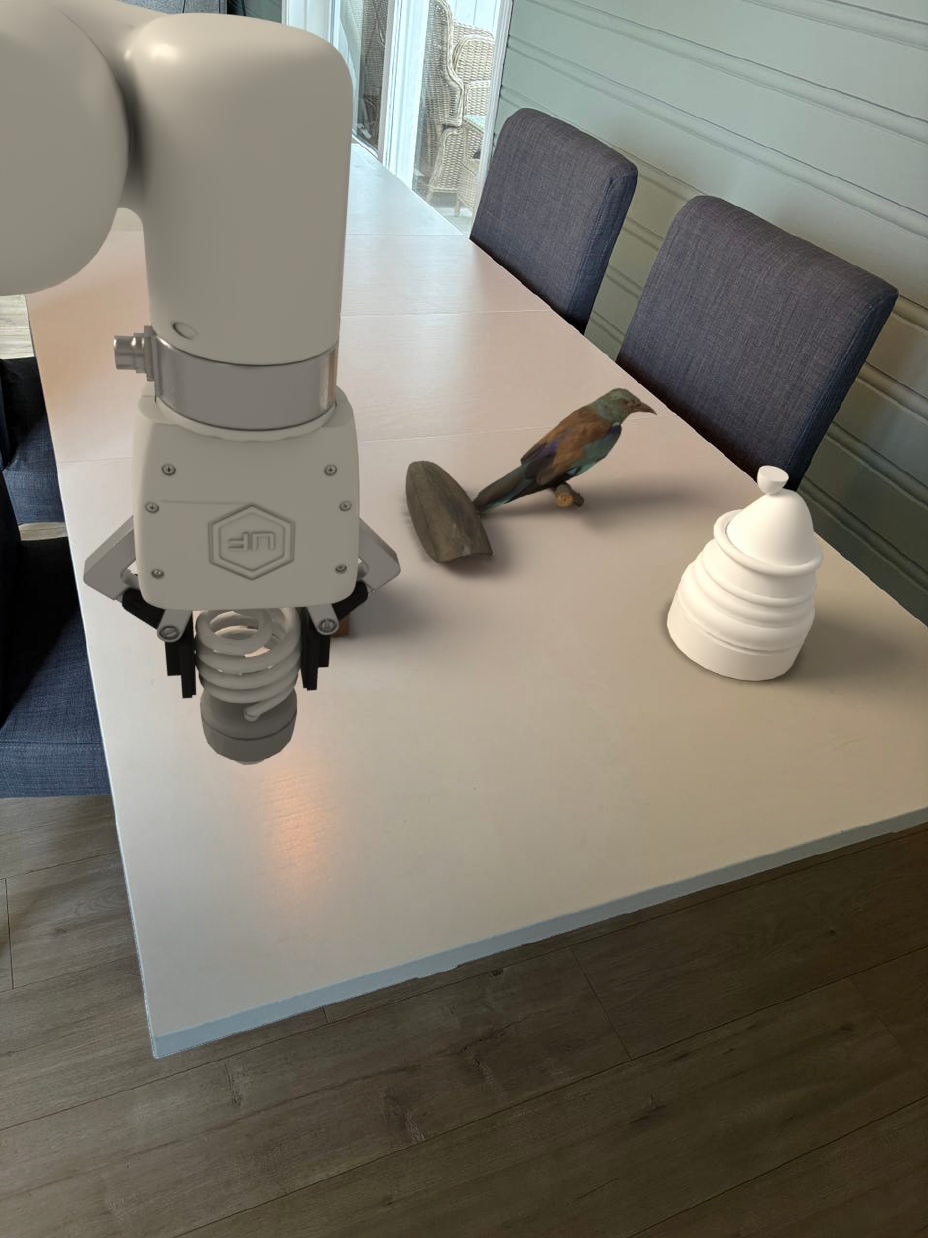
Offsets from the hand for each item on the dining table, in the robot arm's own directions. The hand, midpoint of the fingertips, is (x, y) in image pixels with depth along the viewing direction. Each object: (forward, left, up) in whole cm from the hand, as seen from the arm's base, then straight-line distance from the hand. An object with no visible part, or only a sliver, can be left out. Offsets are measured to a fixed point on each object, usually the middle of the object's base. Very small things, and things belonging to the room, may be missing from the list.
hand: (249, 674), depth 50 cm
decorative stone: (+22, +41, -20) cm, 51 cm away
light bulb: (0, 0, -7) cm, 7 cm away
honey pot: (+47, +21, -20) cm, 56 cm away
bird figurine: (+36, +45, -20) cm, 62 cm away
